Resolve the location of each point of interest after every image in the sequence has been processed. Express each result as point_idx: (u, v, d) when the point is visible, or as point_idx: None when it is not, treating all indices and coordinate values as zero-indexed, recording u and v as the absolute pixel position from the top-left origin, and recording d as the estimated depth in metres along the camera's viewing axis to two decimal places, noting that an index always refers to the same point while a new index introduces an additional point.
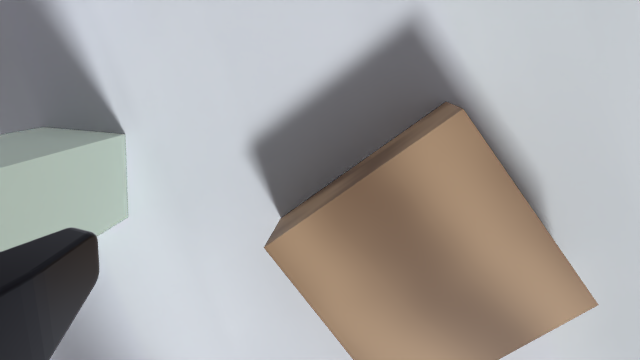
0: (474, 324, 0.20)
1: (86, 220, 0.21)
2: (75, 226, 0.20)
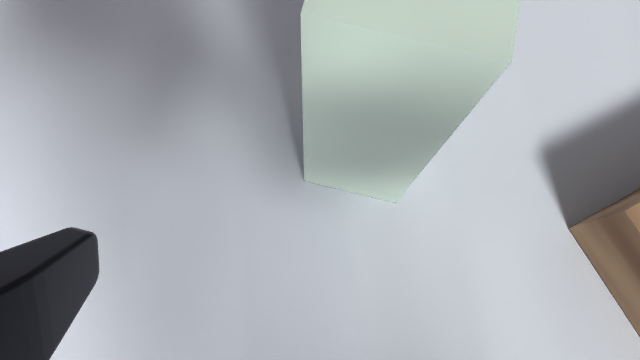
0: None
1: None
2: None
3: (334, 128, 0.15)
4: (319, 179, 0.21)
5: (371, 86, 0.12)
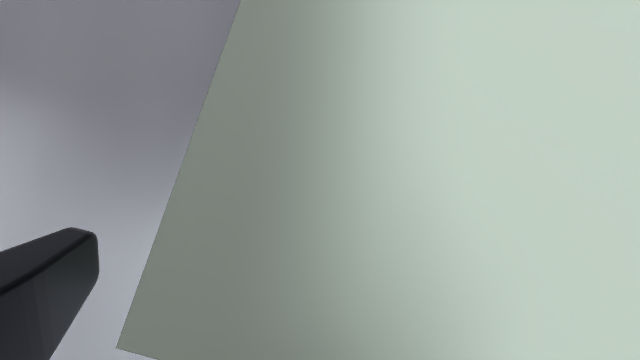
0: None
1: None
2: None
3: None
4: None
5: None
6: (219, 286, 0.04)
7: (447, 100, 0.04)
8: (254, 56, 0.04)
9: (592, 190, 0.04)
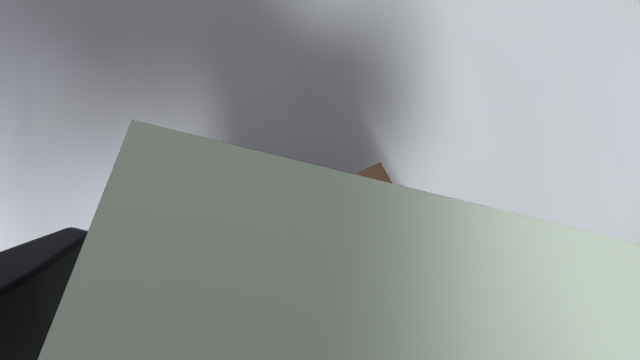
0: None
1: None
2: None
3: None
4: None
5: None
6: None
7: None
8: None
9: None
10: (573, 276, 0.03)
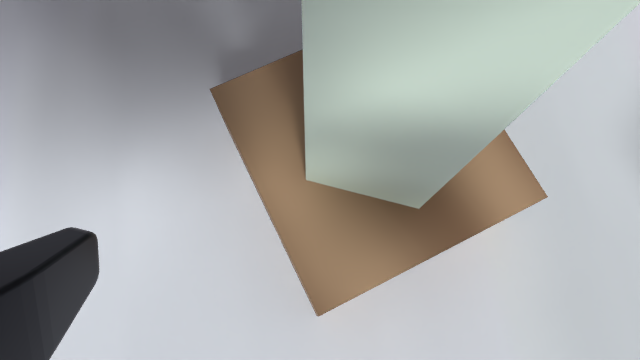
0: None
1: None
2: None
3: (348, 105, 0.11)
4: (325, 178, 0.17)
5: (412, 30, 0.08)
6: None
7: None
8: None
9: None
10: None
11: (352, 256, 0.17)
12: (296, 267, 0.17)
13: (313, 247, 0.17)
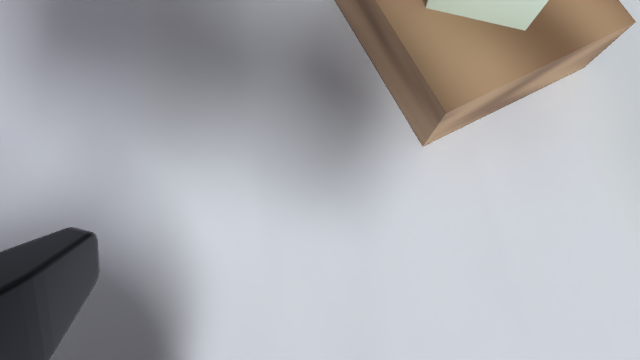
0: None
1: None
2: None
3: None
4: None
5: None
6: None
7: None
8: None
9: None
10: None
11: (471, 67, 0.20)
12: (424, 75, 0.20)
13: (437, 60, 0.20)
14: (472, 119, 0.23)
